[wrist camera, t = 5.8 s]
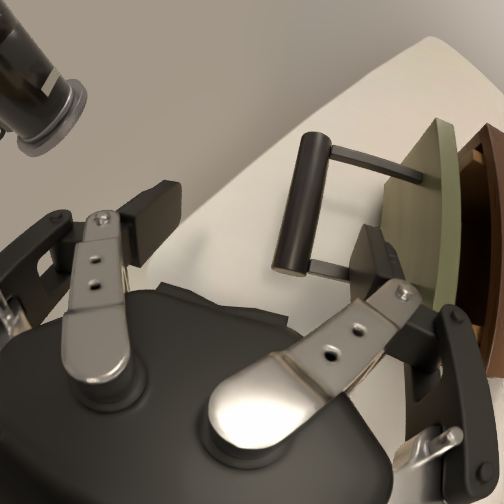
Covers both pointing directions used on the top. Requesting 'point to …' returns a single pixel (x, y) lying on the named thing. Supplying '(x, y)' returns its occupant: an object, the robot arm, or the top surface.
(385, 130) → the top surface
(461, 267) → the drawer
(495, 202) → the cabinet
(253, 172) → the top surface
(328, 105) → the top surface
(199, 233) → the top surface
